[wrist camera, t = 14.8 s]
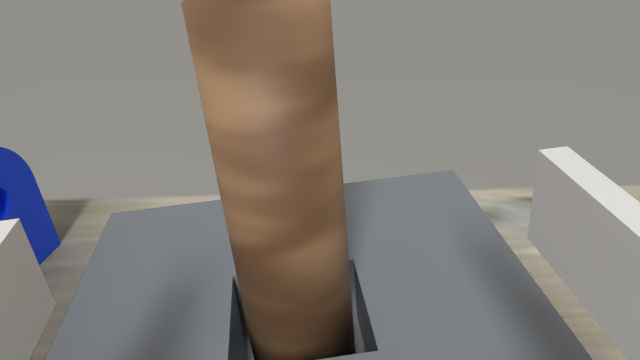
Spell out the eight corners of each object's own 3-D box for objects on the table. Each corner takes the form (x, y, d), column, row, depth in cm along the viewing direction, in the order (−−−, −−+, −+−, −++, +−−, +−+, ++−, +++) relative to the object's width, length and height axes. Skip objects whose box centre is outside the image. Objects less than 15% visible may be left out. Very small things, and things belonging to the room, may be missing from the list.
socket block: (-11, 737, 15) (-93, 660, 12) (133, 281, 32) (111, 213, 30) (666, 613, 16) (712, 521, 13) (449, 239, 33) (452, 169, 31)
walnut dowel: (257, 419, 21) (171, 16, 14) (257, 339, 25) (189, -10, 17) (364, 403, 21) (339, -2, 14) (348, 326, 25) (320, -23, 18)
